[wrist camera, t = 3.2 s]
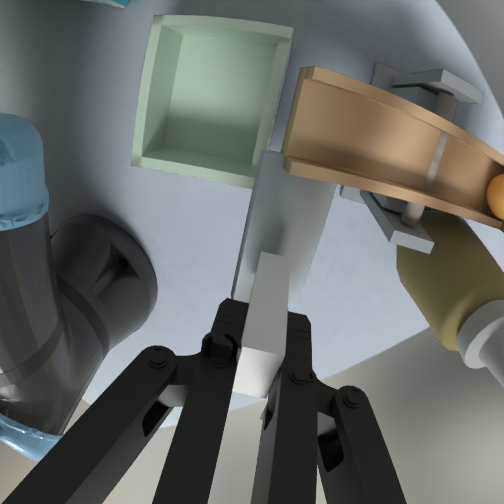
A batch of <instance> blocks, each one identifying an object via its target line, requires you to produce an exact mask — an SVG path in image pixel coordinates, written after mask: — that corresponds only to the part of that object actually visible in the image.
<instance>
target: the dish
mask: <svg viewBox="0 0 504 504" xmlns="http://www.w3.org/2000/svg"><path fill="white" fill-rule="evenodd" d="M292 44H293V28H292V27H287V26H282V25H276V24H271V23H265V22H258V21H251V20H243V19H235V18H225V17H212V16H194V15H154V18H153V22H152V26H151V31H150V35H149V40H148V45H147V50H146V55H145V60H144V66H143V71H142V77H141V84H140V90H139V97H138V104H137V112H136V120H135V129H134V139H133V150H132V162H131V166H137V167H143V168H149V169H154V170H160V171H166V172H171V173H176V174H182V175H187V176H192V177H197V178H202V179H207V180H212V181H217V182H222V183H226V184H231V185H236V186H240V187H245V188H249V189H253V185H254V181H255V176H256V171H257V167H258V162H259V157H260V153H261V149H263V150H269V146H270V141H271V137H272V132H273V128H274V123H275V119H276V114H277V110H278V106H279V101H280V97H281V92H282V88H283V84H284V79H285V75H286V70H287V66H288V62H289V57H290V53H291V49H292Z"/></svg>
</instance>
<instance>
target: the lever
mask: <svg viewBox="0 0 504 504" xmlns="http://www.w3.org/2000/svg"><path fill="white" fill-rule="evenodd" d="M456 104H457V99H455V98H454V97H452V96H450V95H447V94H444V93H439V96H438V100H437V104H436V108H435V112H434V113H432V112H430V111H428V110H426V109H424V108H422V107H420V106H418V105H416V104H414V103H412V102H410V101H408V100H405V99H403V98H401V97H399V96H396V95H394V94H392V93H390V92H387V91H385V90H382V89H380V88H378V87H375V86H373V85H370V84H367V83H365V82H362V81H359V80H357V79H354V78H351V77H348V76H346V75H343V74H340V73H337V72H334V71H330V70H327V69H324V68H321V67H318V66H310V67H303V68H300V72H299V76H298V80H297V85H296V89H295V93H294V98H293V102H292V106H291V111H290V115H289V119H288V123H287V128H286V132H285V136H284V141H283V145H282V149H281V153H280V152H274V151H269V150H263V149H261V153H260V157H259V162H258V167H257V171H256V176H255V181H254V185H253V190H252V195H251V199H250V204H249V209H248V214H247V218H246V223H245V228H244V233H243V238H242V242H241V247H240V252H239V257H238V262H237V267H236V272H235V277H234V281H233V286H232V291H231V299H234V300H238V301H242V302H246V303H249V299H250V294H251V290H252V286H253V282H254V278H255V274H256V270H257V266H258V262H259V258H260V254H261V251H262V252H266V253H270V254H275V255H279V256H283V257H287V258H290V272H289V295H288V308H296V305H297V303H298V300H299V297H300V295H301V292H302V289H303V286H304V283H305V281H306V278H307V275H308V272H309V269H310V266H311V263H312V261H313V258H314V255H315V252H316V249H317V246H318V243H319V240H320V237H321V234H322V231H323V228H324V225H325V222H326V218H327V215H328V212H329V209H330V206H331V203H332V199H333V196H334V193H335V190H336V186H337V184H339V185H344V186H348V187H353V188H357V189H362V190H366V191H370V192H374V193H378V194H382V195H386V196H390V197H394V198H398V199H402V200H406V201H407V202H406V204H405V207H404V210H403V212H402V215H401V220H403V221H404V222H406V223H408V224H410V225H413V226H417V224H418V222H419V219H420V217H421V214H422V212H423V209H424V207H425V206H427V207H431V208H434V209H438V210H441V211H445V212H448V213H451V214H454V215H458V216H461V217H464V218H467V219H470V220H473V221H476V222H479V223H482V224H485V225H488V226H491V227H494V228H497V229H499V230H501V231H502V232H504V220H502V219H500V218H498V217H497V216H496V215H494V213H493V212H492V211H491V209H490V207H489V205H488V201H487V189H488V186H489V184H490V182H491V181H492V179H493V178H494V177H496V176H498V175H500V174H504V156H503V155H502V154H501V153H499V152H498V151H496V150H495V149H493V148H492V147H490V146H489V145H487V144H486V143H484V142H483V141H481V140H479V139H478V138H476V137H475V136H473V135H471V134H470V133H468V132H466V131H465V130H463V129H461V128H460V127H458V126H456V125H454V124H453V123H452V120H453V116H454V112H455V108H456Z"/></svg>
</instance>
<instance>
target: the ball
mask: <svg viewBox="0 0 504 504" xmlns="http://www.w3.org/2000/svg"><path fill="white" fill-rule="evenodd" d="M487 201H488V205H489V207H490V209H491V211H492V212H493V213H494V215H496V216H497V217H498V218H500V219H502V220H504V174H500V175H498V176H496V177H494V178H493V179H492V181H491V182H490V184H489V186H488V189H487Z"/></svg>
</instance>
